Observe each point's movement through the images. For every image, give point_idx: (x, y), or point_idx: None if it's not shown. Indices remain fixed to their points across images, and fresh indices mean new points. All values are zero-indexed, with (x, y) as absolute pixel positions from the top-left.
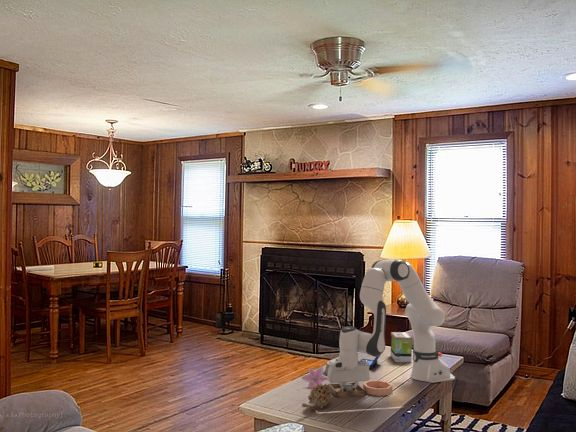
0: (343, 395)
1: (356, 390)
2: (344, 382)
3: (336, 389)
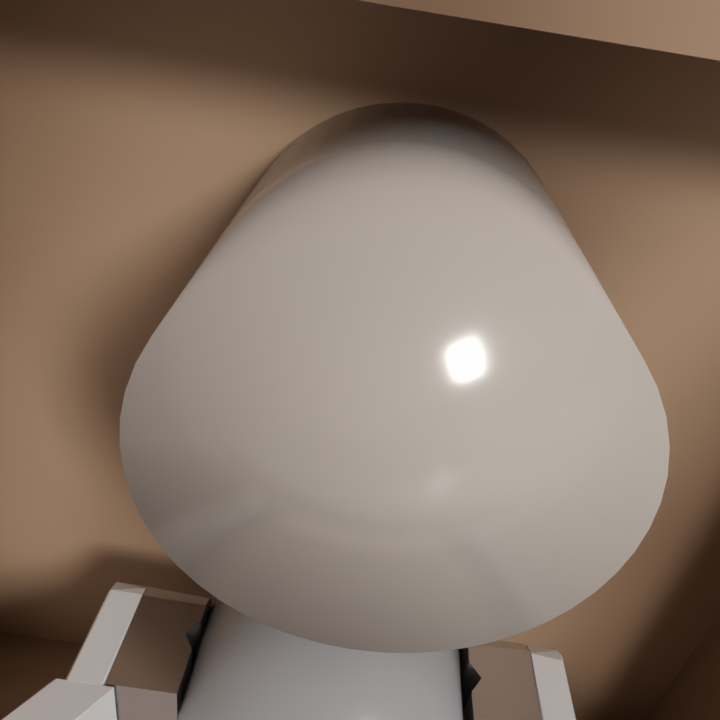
0: None
1: (704, 483)
2: (273, 624)
3: (83, 168)
